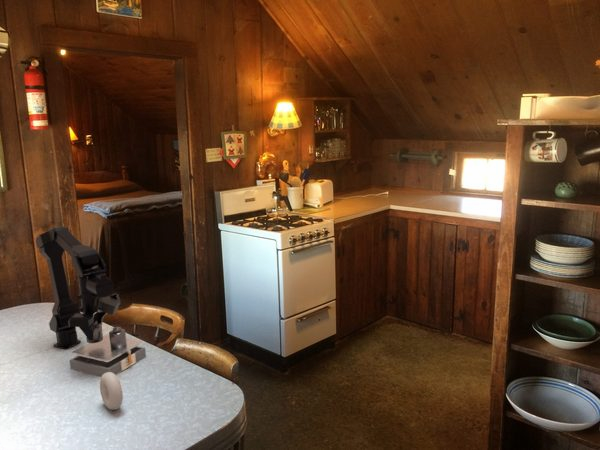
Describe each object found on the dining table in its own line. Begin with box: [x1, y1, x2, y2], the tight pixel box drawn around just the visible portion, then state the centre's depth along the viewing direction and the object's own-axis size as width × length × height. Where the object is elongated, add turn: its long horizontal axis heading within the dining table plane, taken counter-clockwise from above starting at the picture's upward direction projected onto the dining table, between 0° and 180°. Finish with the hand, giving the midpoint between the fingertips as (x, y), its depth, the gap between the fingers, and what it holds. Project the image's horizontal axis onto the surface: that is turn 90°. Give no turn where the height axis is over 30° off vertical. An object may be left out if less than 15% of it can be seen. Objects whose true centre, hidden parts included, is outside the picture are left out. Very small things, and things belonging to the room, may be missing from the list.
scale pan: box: [70, 333, 143, 364], centre depth 165 cm, size 17×15×4 cm
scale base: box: [69, 345, 147, 378], centre depth 166 cm, size 16×16×3 cm
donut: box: [99, 372, 124, 411], centre depth 139 cm, size 10×3×10 cm, turn 41°
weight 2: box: [108, 326, 127, 350], centre depth 164 cm, size 5×5×6 cm
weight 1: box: [85, 322, 104, 344], centre depth 164 cm, size 5×5×6 cm
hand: (94, 337), depth 165 cm, fingers closed on weight 1, 5 cm apart
